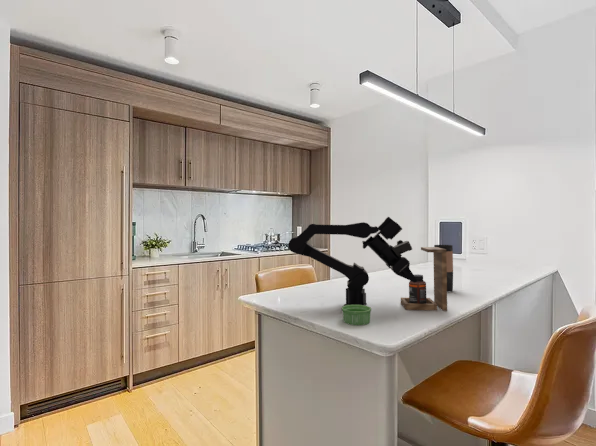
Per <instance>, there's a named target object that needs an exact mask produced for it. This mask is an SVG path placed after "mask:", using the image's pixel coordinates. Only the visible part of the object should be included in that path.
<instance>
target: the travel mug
mask: <svg viewBox="0 0 596 446" xmlns="http://www.w3.org/2000/svg"><path fill="white" fill-rule="evenodd" d="M433 247H439V248H443V249H446V262H447V293H451V292H454V291H453V288H454V287H453V286H454V253H453V252H454V251H453V245H452V244H434V246H433Z"/></svg>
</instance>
